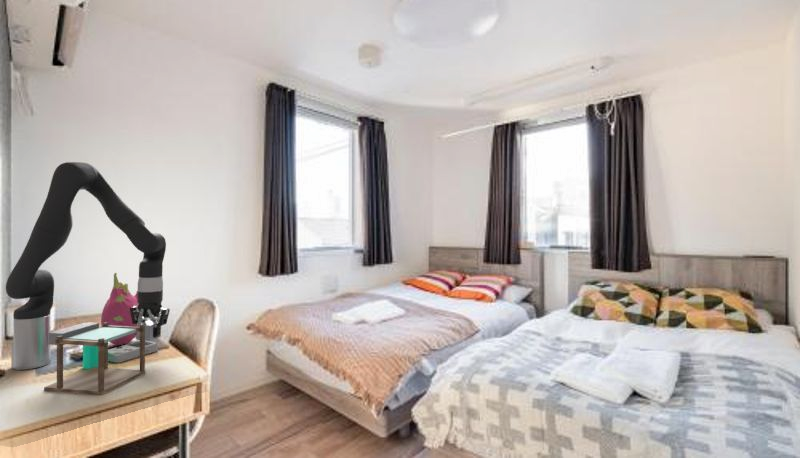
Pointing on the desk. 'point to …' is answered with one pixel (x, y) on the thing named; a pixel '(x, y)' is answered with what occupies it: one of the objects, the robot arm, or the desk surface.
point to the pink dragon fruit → (120, 310)
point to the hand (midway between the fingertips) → (149, 336)
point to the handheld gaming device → (130, 351)
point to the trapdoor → (90, 333)
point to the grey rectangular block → (147, 331)
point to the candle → (90, 356)
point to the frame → (96, 377)
